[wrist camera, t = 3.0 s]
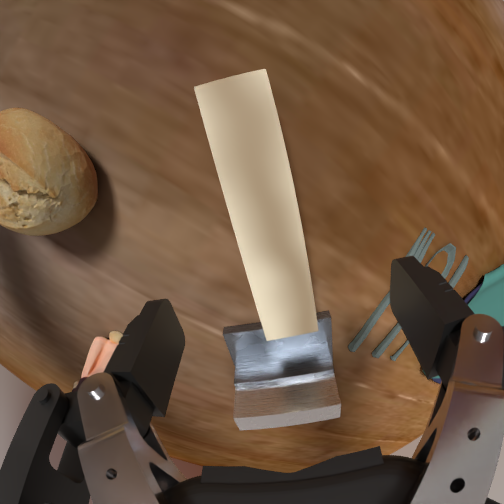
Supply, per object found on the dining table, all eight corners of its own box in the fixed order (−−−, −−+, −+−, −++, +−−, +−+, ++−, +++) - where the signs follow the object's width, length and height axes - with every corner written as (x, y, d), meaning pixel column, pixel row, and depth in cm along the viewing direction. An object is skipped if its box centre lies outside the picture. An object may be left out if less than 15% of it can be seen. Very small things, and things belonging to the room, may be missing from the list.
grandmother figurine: (113, 318, 27) (62, 414, 15) (140, 341, 28) (101, 440, 16) (85, 344, 29) (41, 424, 17) (108, 363, 30) (72, 445, 19)
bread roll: (16, 90, 16) (-44, 97, 9) (126, 138, 19) (66, 153, 12) (-4, 177, 20) (-56, 201, 12) (92, 238, 23) (42, 284, 16)
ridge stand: (246, 388, 31) (244, 446, 24) (223, 327, 26) (214, 394, 19) (331, 375, 30) (343, 433, 22) (328, 310, 25) (348, 376, 18)
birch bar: (265, 302, 25) (266, 340, 21) (208, 94, 18) (194, 87, 13) (308, 294, 25) (318, 331, 20) (263, 81, 17) (265, 68, 13)
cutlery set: (467, 381, 33) (472, 390, 31) (331, 352, 29) (335, 367, 27) (538, 286, 25) (546, 293, 23) (436, 189, 21) (450, 195, 19)
